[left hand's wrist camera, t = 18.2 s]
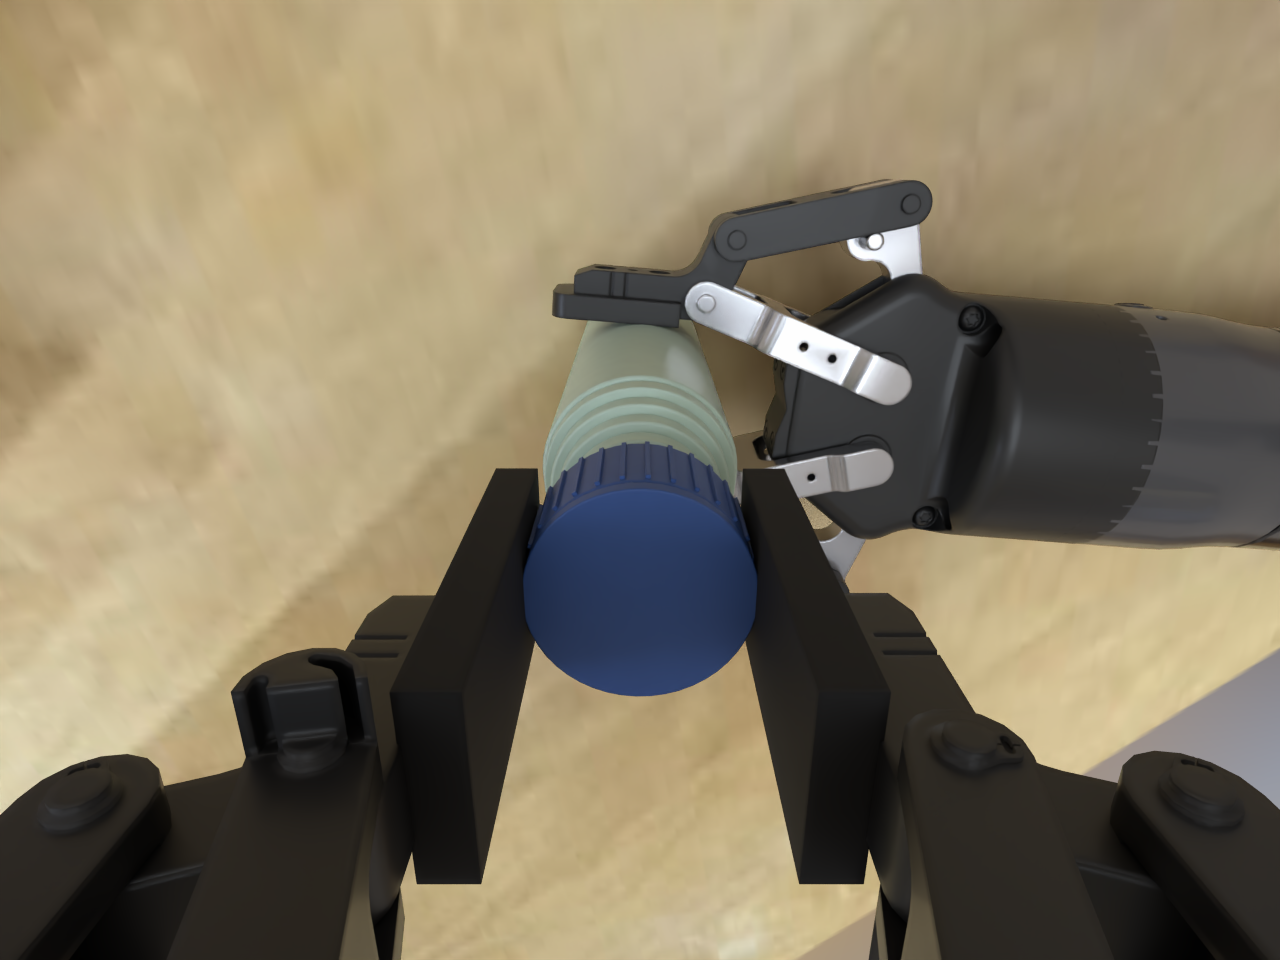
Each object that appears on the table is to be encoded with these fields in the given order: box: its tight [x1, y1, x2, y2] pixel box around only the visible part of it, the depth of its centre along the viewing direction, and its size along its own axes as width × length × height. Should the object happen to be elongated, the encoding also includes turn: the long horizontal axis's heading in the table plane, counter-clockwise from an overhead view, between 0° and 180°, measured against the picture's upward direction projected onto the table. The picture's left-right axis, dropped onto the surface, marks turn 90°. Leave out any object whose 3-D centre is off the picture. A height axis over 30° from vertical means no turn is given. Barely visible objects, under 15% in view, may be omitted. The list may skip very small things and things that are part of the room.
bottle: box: [543, 319, 737, 496], centre depth 22 cm, size 4×4×19 cm
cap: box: [523, 441, 757, 696], centre depth 14 cm, size 4×4×2 cm
